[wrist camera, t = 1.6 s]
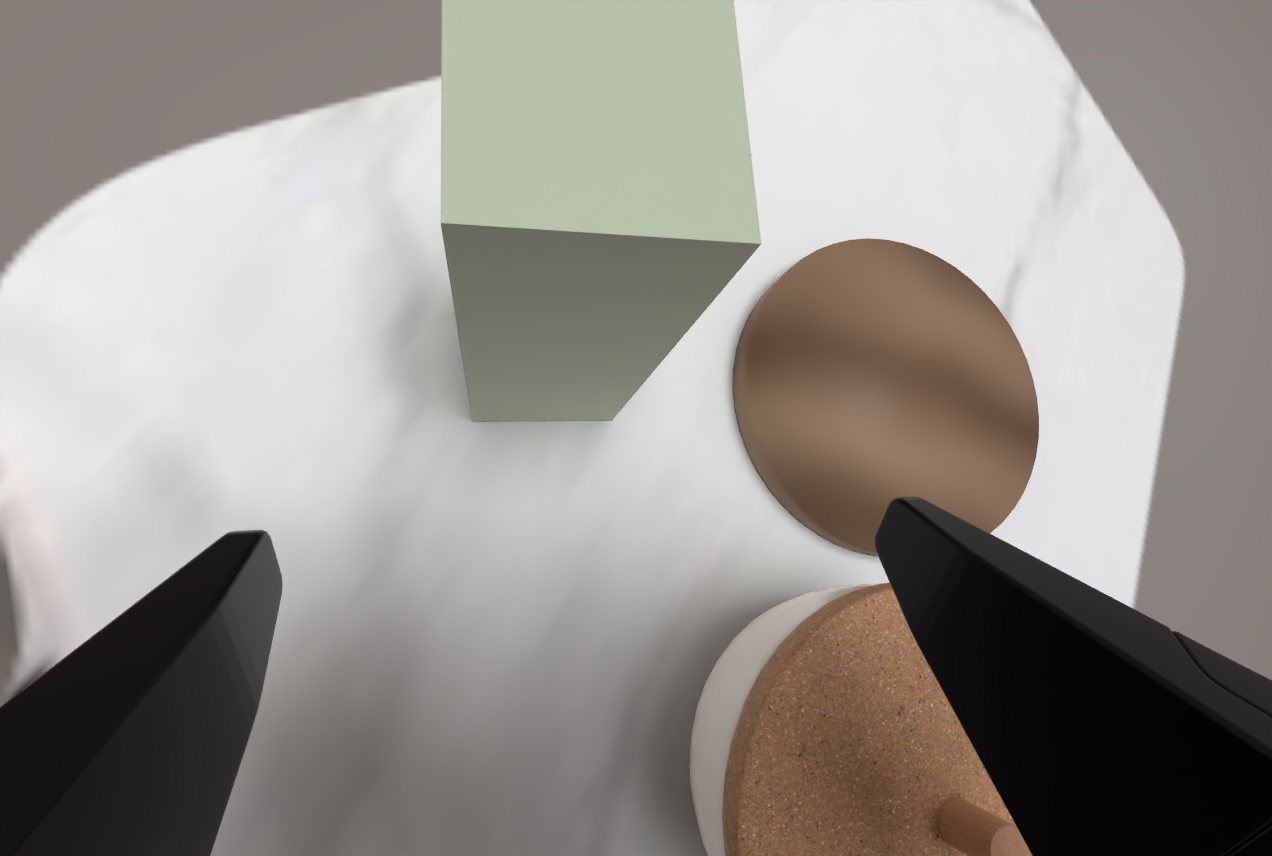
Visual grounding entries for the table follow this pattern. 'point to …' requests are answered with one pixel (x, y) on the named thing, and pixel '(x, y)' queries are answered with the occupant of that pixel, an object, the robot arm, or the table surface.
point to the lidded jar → (838, 741)
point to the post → (588, 193)
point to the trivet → (884, 392)
